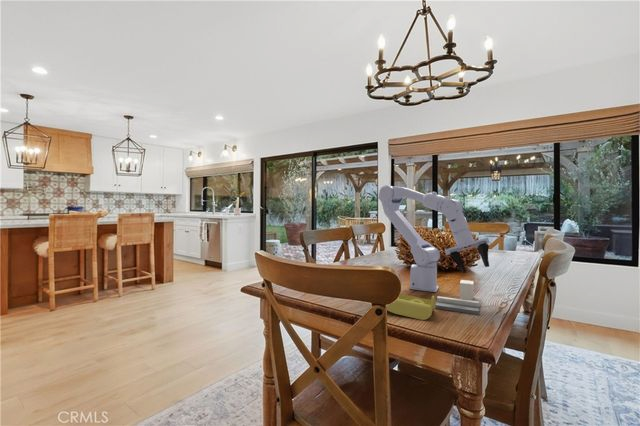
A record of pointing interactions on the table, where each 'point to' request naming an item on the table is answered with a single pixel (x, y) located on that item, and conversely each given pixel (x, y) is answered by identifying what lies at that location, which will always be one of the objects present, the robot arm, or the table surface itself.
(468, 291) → the block
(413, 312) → the plastic component
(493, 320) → the table surface
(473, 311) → the rail board
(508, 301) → the table surface
